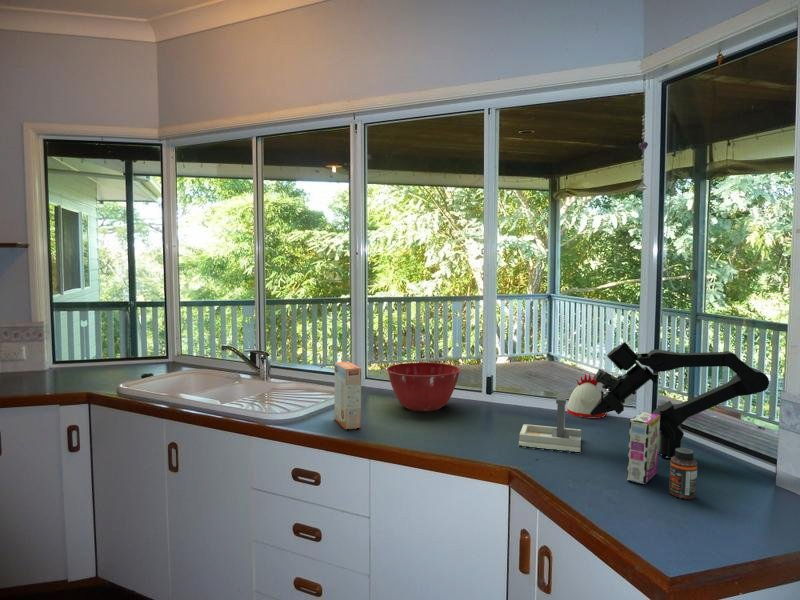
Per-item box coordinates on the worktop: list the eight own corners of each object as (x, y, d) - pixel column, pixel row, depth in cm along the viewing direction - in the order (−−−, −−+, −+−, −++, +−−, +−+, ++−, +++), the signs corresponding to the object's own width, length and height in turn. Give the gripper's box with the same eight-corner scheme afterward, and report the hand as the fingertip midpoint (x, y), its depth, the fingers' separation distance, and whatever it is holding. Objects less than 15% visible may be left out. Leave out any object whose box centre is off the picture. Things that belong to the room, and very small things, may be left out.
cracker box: (362, 428, 190) (362, 367, 188) (344, 430, 188) (344, 369, 186) (350, 417, 203) (350, 360, 201) (333, 419, 201) (333, 361, 199)
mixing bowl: (378, 400, 227) (378, 363, 226) (443, 396, 236) (444, 359, 235) (398, 420, 200) (399, 377, 199) (472, 414, 209) (472, 373, 208)
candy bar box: (646, 486, 143) (648, 423, 142) (626, 481, 146) (628, 419, 145) (658, 473, 151) (661, 413, 150) (639, 469, 155) (641, 410, 153)
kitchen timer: (608, 419, 202) (610, 378, 201) (569, 417, 205) (570, 377, 204) (602, 409, 216) (604, 371, 215) (565, 407, 219) (566, 369, 218)
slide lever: (569, 434, 178) (570, 394, 177) (568, 443, 170) (569, 400, 169) (553, 433, 180) (554, 393, 179) (551, 441, 172) (552, 399, 171)
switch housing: (580, 439, 180) (581, 428, 180) (580, 453, 167) (580, 441, 167) (523, 433, 186) (523, 423, 185) (518, 446, 172) (519, 435, 172)
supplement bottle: (663, 492, 139) (665, 447, 139) (681, 488, 141) (683, 444, 141) (683, 501, 134) (685, 455, 133) (701, 498, 136) (703, 452, 135)
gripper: (610, 356, 178) (572, 387, 182) (612, 367, 160) (571, 401, 164) (636, 382, 176) (597, 414, 180) (641, 396, 158) (598, 431, 162)
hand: (591, 414), depth 172 cm, fingers closed
